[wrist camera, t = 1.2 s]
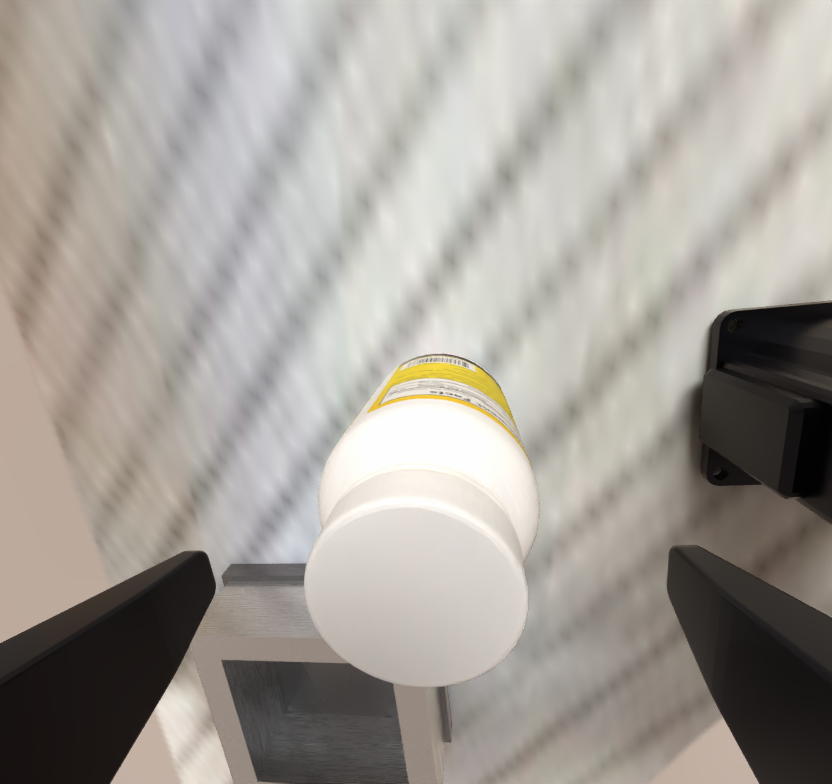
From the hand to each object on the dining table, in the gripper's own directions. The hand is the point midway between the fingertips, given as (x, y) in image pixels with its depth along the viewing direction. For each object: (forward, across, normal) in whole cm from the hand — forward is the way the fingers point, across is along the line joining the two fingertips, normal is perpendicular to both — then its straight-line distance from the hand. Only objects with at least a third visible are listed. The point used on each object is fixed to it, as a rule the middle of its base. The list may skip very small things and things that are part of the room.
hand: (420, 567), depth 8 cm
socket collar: (+9, +6, +12) cm, 16 cm away
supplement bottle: (+9, 0, 0) cm, 9 cm away
